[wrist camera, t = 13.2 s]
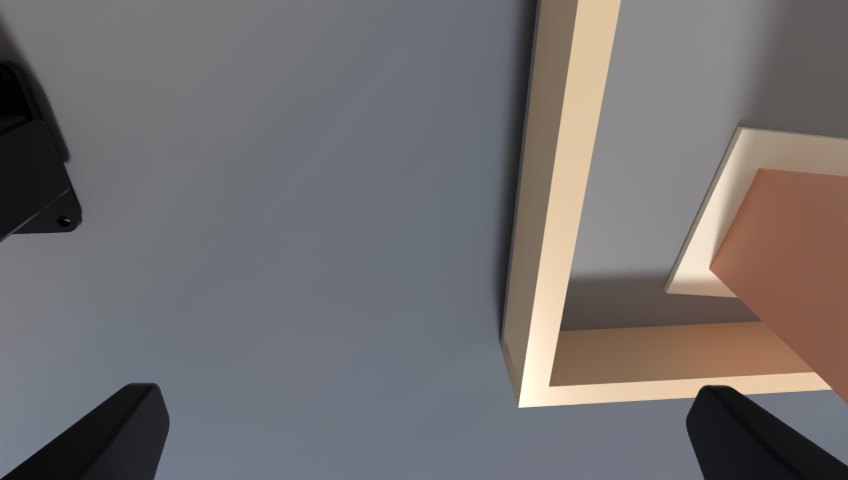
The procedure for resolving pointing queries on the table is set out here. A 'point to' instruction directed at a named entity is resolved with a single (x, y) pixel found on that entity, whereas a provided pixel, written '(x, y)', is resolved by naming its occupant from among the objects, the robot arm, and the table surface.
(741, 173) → the two-wall tray
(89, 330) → the table surface
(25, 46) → the table surface
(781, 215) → the terracotta block
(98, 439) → the robot arm
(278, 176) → the table surface
